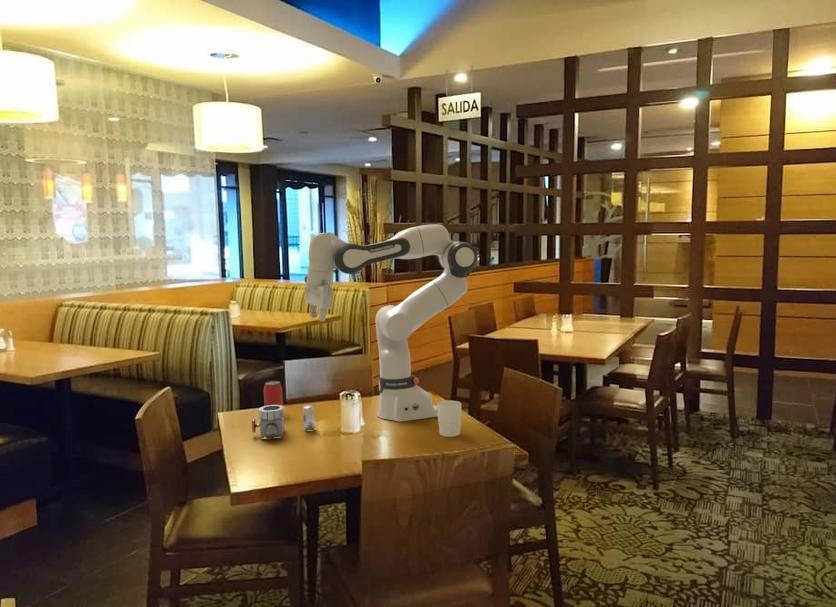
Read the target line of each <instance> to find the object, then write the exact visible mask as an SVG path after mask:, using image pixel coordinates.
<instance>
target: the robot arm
mask: <svg viewBox="0 0 836 607" xmlns="http://www.w3.org/2000/svg"><path fill="white" fill-rule="evenodd" d="M308 248H309V249H308V261H309V262H308V266H307V274H306V275H305V276H304V283H305V293H304V294H305V301H306V303H307V304H309V308H310V310H309V311H310V317H311V318H315V319H316V318H318V321H320V322H325V321H326V316H327V312H328V310H331V309H333V305H334V304H333V301H334V292H333V291H334V289H333V287H332V286H333V284H334V270H335V269H337V270H338V271H340V272H341V273H343V274H347V275H353V274H356V273H359V272H360V271H361V270H362V269H364V268H365V267H366V266H369V265H371V264H375V263H378V262H379V263H380V262H383V261H387V260H391V259H393V260H394V259H396V260H397V259H400V260H412V259H413V260H414V259H420V258H425V257H428V256H434V257H435V258H436V260H437V262H438V264H439V266H440V268H442V269H443V272H442V273H441V274H440V275H439V276H438V277H436V278H435V279H433V280H431V281H430V282H427V283H426V284H425V285H423V286H421V287H420V288H418V289H417V290H415V291H413V292H412V293H411V294H410V295H409V296H408V297H407V298H405V299H404V300H403V301H402V302H400V303H399V304H398V305H391V304H388V305H385V306H383V307H381V308H379V310H378V311H377V312H376V315H375V318H374V319H375V320H374V321H375V332H376V341H377V342H376V343H377V349H378V357H379V362H378V363H379V377H378V391H379V401H378V402H379V404H378V409H377V414H376V415H377V417H378V418H381V419H383V420H389V421H395V422H399V423H401V422H409V421H414V420H422V419H429V418H436V417H437V418H438V413H437V405H435V404H434V402H433V398H432V396H431V394H429V392H427V391H426V390H425V389H424V388H422V387H420V386H419V385H418V384H419V383H420V379H419V378H418V377H416V376H415V375H413V374H412V372H411V369H412V368H411V352H410V349H409V343H408V338H409V337H410V336H411V334H413V333H414V332H415V331H417V329H419V328H420V327H422V326H423V325H424V323H426V322H427V321H428V320H430V319H432V317H434V316H436V315H437V314H440V312H442V311H444V310H446V309H447V308H449V307H450V306H452V305H453V304H455V303H456V302H457V301H458V300H460V299H461V298H462V297H463V296H464V295H466V293H467V292H468V289H469V283H468V281H467V278H468V277H469V276H470V273H471V272H472V270H473V269H474V267H475V265H476V263H477V261H478V252H477V249H475V247H474V246H473V245H472V244H470V243H468V242H466V241H454V240H452V239H451V238H450V234H449V231H448V229H447V228H446V227H445V226H444V225H443V224H438V223H437V224H436V223H435V224H422V225H417V226H412V227H409V228H406V229H403V230H401V231H399V232H397V233H396V234H395V235H394V236H393V237H392V238H389V239H387V240H384V241H380V242H376V243H371V244H365V245H361V244H356V243H349V242H346V241H345V240H343V239H341V238H339V236H337V235H335V233H333V232H320V233H316V234H314V235H313V236H312V237H311V239H310V240H309V247H308ZM317 308H319V315H318V312H317Z"/></svg>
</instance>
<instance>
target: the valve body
mask: <svg viewBox="0 0 836 607" xmlns="http://www.w3.org/2000/svg"><path fill="white" fill-rule="evenodd" d="M284 407H285V406H284V405H283V406H281V405H268V406H265V405H264V406H261V407H259V409H258V418H259V420H260V421H259V423H257V422H256V418H252V419H251V429H252V430H251V431H252V433H256V432H257V428H259V429H260V430H259V432H260V439H261V438H264V437H266V438H274V437H283V438H284V435H283V432H285V420H284V419H285V408H284Z"/></svg>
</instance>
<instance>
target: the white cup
mask: <svg viewBox="0 0 836 607" xmlns="http://www.w3.org/2000/svg"><path fill="white" fill-rule="evenodd" d="M436 407H437V413H438V416H437V422H438V423H437V425H438V430H439V435H440V436H441V437H445V438H447V437H448V438H452V437H453V438H454V437H458V436H460V435H461V427H462V402H460V401H458V400H441V401H439V402H437V403H436Z"/></svg>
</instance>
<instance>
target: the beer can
mask: <svg viewBox="0 0 836 607" xmlns="http://www.w3.org/2000/svg"><path fill="white" fill-rule="evenodd" d="M283 397H284V396H283V387H282V385H281V381H278V380H270V381H267V382H265V383H264V386H263V401H264V402H263V403H264V406H268V405H281V406H283V407H284V401H283V400H284V399H283Z"/></svg>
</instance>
